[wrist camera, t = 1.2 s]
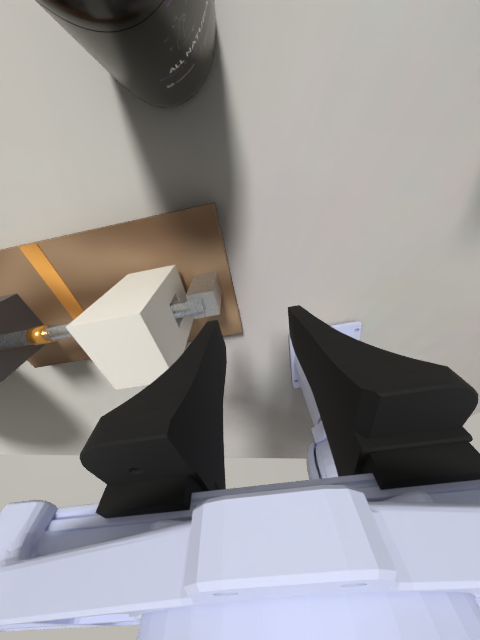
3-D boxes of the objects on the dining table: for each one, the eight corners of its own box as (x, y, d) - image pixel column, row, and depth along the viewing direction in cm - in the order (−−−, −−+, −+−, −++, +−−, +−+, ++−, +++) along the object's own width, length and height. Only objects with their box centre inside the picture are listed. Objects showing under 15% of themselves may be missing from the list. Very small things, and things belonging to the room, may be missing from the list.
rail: (221, 291, 19) (219, 319, 15) (26, 328, 20) (-24, 362, 17) (216, 271, 18) (212, 295, 14) (10, 311, 19) (-47, 343, 15)
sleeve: (194, 316, 19) (175, 380, 13) (153, 323, 19) (115, 389, 13) (175, 264, 16) (139, 313, 10) (128, 274, 17) (65, 327, 10)
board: (241, 324, 23) (242, 333, 21) (45, 358, 25) (34, 368, 23) (214, 202, 16) (212, 203, 15) (-50, 260, 18) (-73, 266, 17)
